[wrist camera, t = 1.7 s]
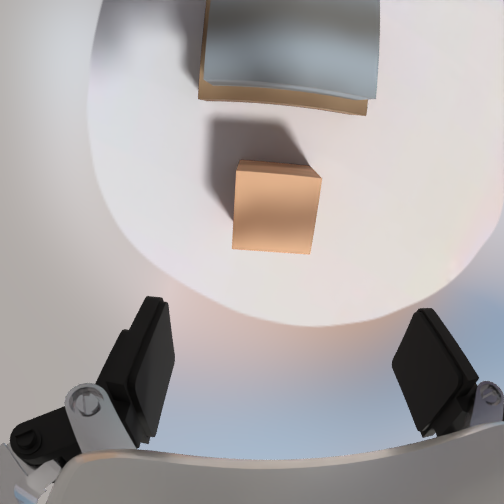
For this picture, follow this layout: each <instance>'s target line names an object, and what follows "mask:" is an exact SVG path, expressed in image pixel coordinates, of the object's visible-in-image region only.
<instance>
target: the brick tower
mask: <svg viewBox="0 0 504 504" xmlns="http://www.w3.org/2000/svg"><path fill="white" fill-rule="evenodd" d="M379 36H380V0H206V9H205V18H204V28H203V38H202V49H201V62H200V75H199V91H198V99H200V100H205V101H227V102H249V103H264V104H276V105H286V106H295V107H303V108H311V109H318V110H325V111H332V112H338V113H344V114H349V115H362V116H366V113H367V103H368V99H376V90H377V77H378V61H379Z"/></svg>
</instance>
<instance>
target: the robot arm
mask: <svg viewBox="0 0 504 504" xmlns="http://www.w3.org/2000/svg"><path fill="white" fill-rule="evenodd" d="M174 361H175V354H174V347H173V339H172V332H171V323H170V315H169V307H168V303H167V302H164V301H163V298H160V297H150V296H147V297H146V298H145V300H144V302H143V304H142V305H141V307H140V309H139V311H138V313H137V315H136V317H135V319H134V321H133V323H132V325H131V327H130V329H129V330H126V329H124V330H122V332H121V333H120V335H119V337H118V339H117V340H116V343H115V345H114V347H113V348H112V350H111V352H110V354H109V356H108V359H107V360H106V363H105V365H104V367H103V369H102V371H101V373H100V375H99V377H98V379H97V381H96V384H92V383H85V384H80V385H78V386H76V387H74V388H72V389H71V390H70V391H69V392H68V394H67V396H66V399H65V406H64V407H62V408H59V409H57V410H54V411H51V412H49V413H46V414H44V415H41V416H39V417H36V418H33V419H31V420H28V421H26V422H23V423H21V424H19V425H17V426H16V427H15V428H14V429H13V431H12V433H11V436H10V443H9V444H7V445H5V443H3V444H1V445H0V504H37V501H38V498H39V497H40V496H41V495H42V494H43V493H44V492H46V489H45V488H46V487H47V486H48V485H50V484H51V483H54V485H53V487H52V489H51V492H50V494H49V497H48V500H47V502H46V504H504V395H503V392H502V391H501V389H500V388H499V387H498V386H497V385H496V384H494V383H493V382H490V381H483V382H481V383H480V384H479V385H478V386H477V384H476V382H477V380H478V379H479V377H478V375H477V373H476V372H475V370H474V369H473V367H472V366H471V364H470V362H469V361H468V359H467V358H466V356H465V354H464V353H463V351H462V350H461V348H460V347H459V345H458V344H457V342H456V341H455V339H454V338H453V336H452V335H451V334H450V332H449V331H448V329H447V328H446V326H445V325H444V324H443V322H442V321H441V319H440V318H439V316H438V315H437V314H436V312H435V311H434V310H433V309H432V308H420V309H418V310H417V312H415V313H414V314H413V317H412V319H411V321H410V324H409V326H408V328H407V331H406V333H405V335H404V337H403V339H402V342H401V344H400V346H399V348H398V350H397V352H396V354H395V356H394V358H393V361H392V368H393V371H394V373H395V375H396V378H397V380H398V382H399V385H400V387H401V390H402V392H403V395H404V397H405V400H406V402H407V405H408V407H409V410H410V412H411V415H412V417H413V420H414V423H415V425H416V428H417V430H418V431H420V432H421V435H422V437H423V438H424V437H428V436H432V435H434V434H435V432H436V435H437V437H436V438H433V439H429V440H425V441H421V442H417V443H413V444H408V445H404V446H399V447H394V448H389V449H384V450H378V451H372V452H367V453H359V454H352V455H344V456H335V457H325V458H311V459H291V460H247V459H227V458H212V457H201V456H191V455H183V454H175V453H166V452H158V451H149V450H137V448H139V446H140V442H141V443H146V444H149V440H150V437H155V435H156V432H157V428H158V424H159V420H160V416H161V412H162V408H163V404H164V400H165V396H166V393H167V389H168V385H169V381H170V377H171V373H172V370H173V366H174Z"/></svg>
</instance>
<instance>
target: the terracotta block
mask: <svg viewBox="0 0 504 504" xmlns="http://www.w3.org/2000/svg"><path fill="white" fill-rule="evenodd" d="M321 182H322V178H321V177H320V176H319V175H318V174H317V173H316V172H315V171H314V170H313V169H312V168H311V167H310V166H306V165H297V164H287V163H276V162H265V161H252V160H240V161H239V164H238V167H237V170H236V184H235V201H234V219H233V239H232V249H239V250H253V251H268V252H282V253H296V254H310V252H311V246H312V240H313V234H314V228H315V222H316V216H317V209H318V203H319V196H320V189H321Z"/></svg>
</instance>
